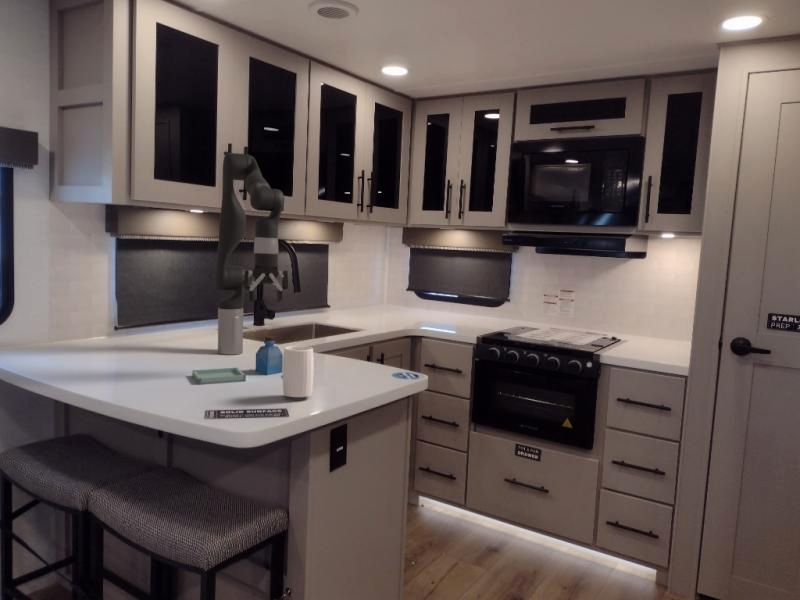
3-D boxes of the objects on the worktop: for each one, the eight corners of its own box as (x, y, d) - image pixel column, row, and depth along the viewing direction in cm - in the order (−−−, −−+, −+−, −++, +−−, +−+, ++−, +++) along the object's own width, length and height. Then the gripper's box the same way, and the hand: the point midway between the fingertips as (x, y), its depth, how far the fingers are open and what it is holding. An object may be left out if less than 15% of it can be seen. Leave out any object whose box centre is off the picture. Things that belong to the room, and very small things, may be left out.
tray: (192, 375, 189) (192, 370, 189) (237, 373, 196) (237, 367, 196) (198, 384, 179) (198, 378, 178) (245, 381, 185) (245, 375, 185)
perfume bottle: (270, 369, 203) (271, 334, 202) (282, 372, 199) (283, 337, 198) (255, 372, 198) (256, 336, 197) (267, 375, 194) (267, 338, 193)
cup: (291, 392, 173) (292, 344, 172) (317, 396, 171) (319, 347, 170) (276, 399, 165) (277, 349, 164) (304, 403, 163) (305, 352, 162)
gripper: (284, 252, 197) (283, 300, 199) (240, 250, 190) (240, 301, 192) (291, 253, 190) (289, 303, 192) (246, 251, 184) (245, 304, 186)
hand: (265, 302), depth 192 cm, fingers open, 8 cm apart
